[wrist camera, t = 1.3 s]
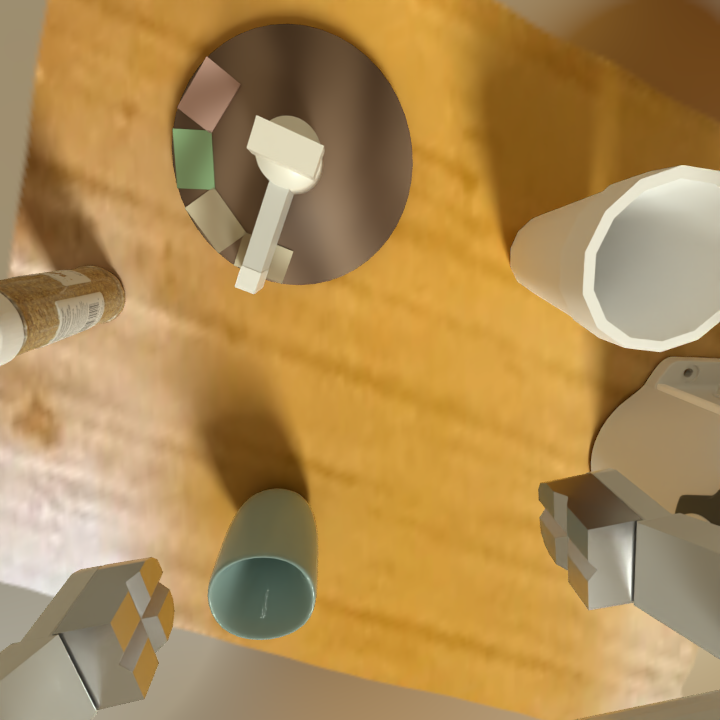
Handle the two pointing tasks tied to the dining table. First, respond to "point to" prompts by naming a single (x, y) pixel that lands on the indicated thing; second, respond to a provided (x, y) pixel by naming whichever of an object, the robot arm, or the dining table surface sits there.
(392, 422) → the dining table surface
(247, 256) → the cream toy mallet
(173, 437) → the dining table surface
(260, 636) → the cup
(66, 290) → the sprinkles bottle
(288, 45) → the dial
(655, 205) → the foam cup
